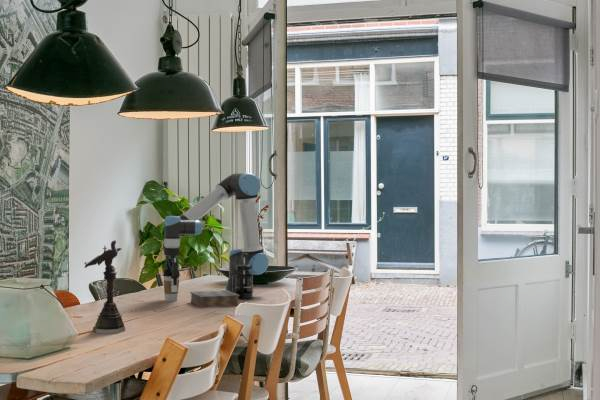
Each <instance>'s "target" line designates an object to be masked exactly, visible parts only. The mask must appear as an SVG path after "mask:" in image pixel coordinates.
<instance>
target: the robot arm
mask: <svg viewBox="0 0 600 400" xmlns="http://www.w3.org/2000/svg"><path fill="white" fill-rule="evenodd" d="M260 190H261V181H260V179H259V177H258V176H257V175H256V174H254V173H249V172H242V173H233V174H232V173H231V174H230V175H228V176H227V177H225V178H224V179H223V180H222V181H220V182H219V183H218V184H216V185H215V188H214V189H213V190H211V191H210V192H209V193H208V194H207V195H206V196H204V197H203V198H202V199H200V200H199V201H198V202H196V203H195V204H193V206H191V207H190V208H189V209H187V210H186V211H185V212H184V213H182V214H181V215H178V216H177V215H167V216H165V218H164V224H163V225H164V240H162V243H164V245H163V246H164V249H163V250H164V251H163V255H164V256H165V262H164V269H163V272H164V271H165V270H170V269H171V273H172V277H171V279H172V285H171V292H177V278H179V279H180V276H179V274H180V272H179V273H178V270H179V264H178V257H176V256H179V255H180V248H179V247H180V246H181V244H180V243H181V238H180V237H181V236H196V235H197V236H199V235H201V234H202V232H203V223H202V221H201V220H200V219H202V218H203V217H204V216H205V215H207V214H208V213H209V212H211V211H212V210H213V209H215V207H217V206H218V205H219V204H220V203H222V202H223V201H227V200H228V199H229V200H230V198H232V197H234V196H235V200H236V202H238V203H239V204H238V205H239V212H240V213H239V214H240V221H241V231H242V233H241V234H242V241H243V248H238V249H237V248H235V249H231V250H229V255H228V262H229V264H228V266H229V267H228V269H229V270H228V279H227V281H226V282H227V283H226V285H225V290H228V291H230V292H231V276H232V275H237V274H250V275H253V276H257V275H262V274H263V273H265V272H266V270H268V267H269V263H270V262H269V257H268V256H267V255H266V254H265V253H264V247H262V246H261V242H260V234H259V223H258V213H257V206H256V200H257V199H258V198H259V196H258V193H259V192H260ZM242 253H246V254H248V255H245V264H247V265H253V266H252V268H251V269H249V270H247V271H242V270H236V266H235V265H241V264H244V257H243V255H241V254H242ZM237 285H240V279H239V278H236V286H237ZM247 285H250V286H252V278H249V279H248V284H247ZM236 291H240V288H236ZM247 291H251V292H252V288H247ZM233 292H235V276H233Z"/></svg>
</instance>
